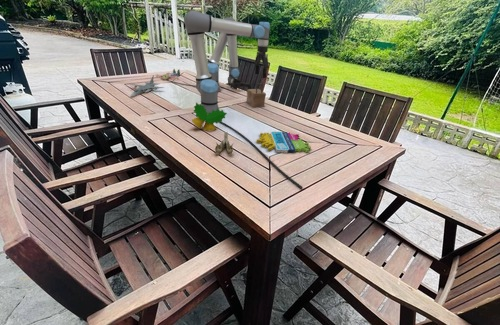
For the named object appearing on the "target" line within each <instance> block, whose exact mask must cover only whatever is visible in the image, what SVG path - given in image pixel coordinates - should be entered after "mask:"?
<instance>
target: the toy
mask: <svg viewBox="0 0 500 325" xmlns="http://www.w3.org/2000/svg"><path fill="white" fill-rule="evenodd" d="M180 75H181V71H180V69H178V70H177V72H176V69H175V68H173V70H172V73H171V72H166V73H163V74H162V75H160V74H157V73H156V74H155V78H158V77H159V78H162V79H161V80H164V81H167V80H168V79H173V80H174V79H176V80H179V79H180V78H179V77H180ZM166 79H167V80H166Z"/></svg>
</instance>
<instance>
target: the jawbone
mask: <svg viewBox="0 0 500 325" xmlns="http://www.w3.org/2000/svg"><path fill="white" fill-rule="evenodd" d="M223 135H224V136H223V140H222V139H221V142H220V144H218V142H215V144H216V146H215V148H214V149H215V152H214V154H215V155H217V156H218V155H220V153H221V152H223V151H224V150H226V152H227V153H228V155H229V156H233V155H234V154H233V153H234V148H233V144H234V143H230V140H228V139H229V138H228V137H229V136H228V135H229V133H228V131H226V132H224V134H223Z"/></svg>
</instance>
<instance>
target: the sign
mask: <svg viewBox="0 0 500 325" xmlns="http://www.w3.org/2000/svg"><path fill="white" fill-rule="evenodd" d="M299 136H300V135H299V134H298V133H296V134H294V133H291V132H287V131H270V132H264V133H263V132H260V133H259V139H258V138H257V139H256V143H257V144H261V148H263V147H264V148H265V149H267V151H268V152H271V151H272V150H273V149H275V152H276V153H283V154H285V153H287V154H288V153H290V154H293V153H296V152H298V153H301V152H305V153H310V151H311V150H312V149H311V148H312V146H309V142H304V141H303V139H302V138H299Z"/></svg>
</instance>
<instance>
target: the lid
mask: <svg viewBox="0 0 500 325" xmlns="http://www.w3.org/2000/svg"><path fill="white" fill-rule="evenodd" d="M255 85H256V86H255V88H251V89H249V88H248V89H246V92H247V91H248V92H250V93H251V94H253V95H254V96H257V95H265V96H267V93H266V92H264V91H263V89H264V83H261V82H260V83H255ZM258 86H261V87H260V88H261V89H260V88H258Z"/></svg>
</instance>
